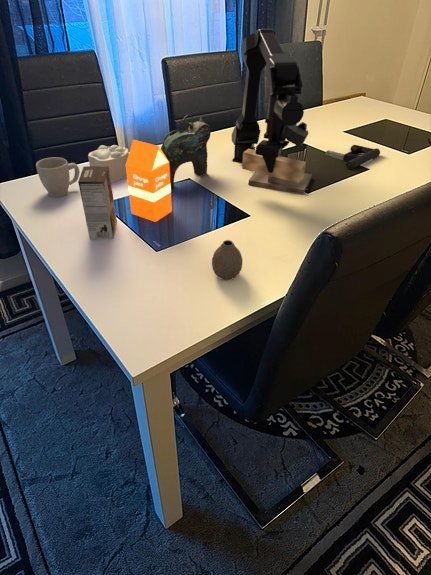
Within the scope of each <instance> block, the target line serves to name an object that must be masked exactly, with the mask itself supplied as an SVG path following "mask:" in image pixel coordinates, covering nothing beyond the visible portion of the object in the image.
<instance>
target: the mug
mask: <svg viewBox="0 0 431 575" xmlns="http://www.w3.org/2000/svg"><path fill="white" fill-rule="evenodd" d="M35 168H36V172H37V174H38V175H37V176H38V177H39V180H40V182H41V184H42V186H43V188H44V189H45V190H46V192H48V194H49V196H50V197H52V198H59V197H64V196H66V195H68V193H69V187H70V186H71V185H73V184H74V183H76V182H77V181H79V178H80V174H81V173H80V172H81V171H80V169H79V165H78V164H76V163H75V162H70V163H69V162H68V161H67V159H65V158H64V157H58V156H57V157H56V156H55V157H53V156H52V157H47V158H42V159H40V160H38V161H36V163H35ZM73 169H74V175H73V178H72V179H71V180H70V170H73Z"/></svg>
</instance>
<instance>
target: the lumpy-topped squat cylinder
mask: <svg viewBox="0 0 431 575" xmlns="http://www.w3.org/2000/svg"><path fill="white" fill-rule="evenodd" d="M129 153H130V150H129V149H128V148H127V147H124V146H119V145H116V144H113V145H111V146H107V145H103V144H102V145H99V147H97V149H96V150H93V151H91V152H89V153H88V155H87V157H88V163H89V164H88V165H89V166H100V167H109V173H110V180H111V183H112V182H116V181H118V180H119V181H120V180H121V179H125V178H127V172H126V163H127V159H128V156H129Z"/></svg>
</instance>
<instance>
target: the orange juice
mask: <svg viewBox="0 0 431 575" xmlns="http://www.w3.org/2000/svg"><path fill="white" fill-rule="evenodd" d="M131 142H132V143H131V146H130V149H129V156H128V159H127V163H126V172H127V177H126V179H127V188H128V195H129V203H130V211H131V212H130V213H131V214H132V215H135V216H137V217H140V218H142V219H146V220H148V221H151V222H155V223H156V222H158V221H160V220H161V219H163V218H164V217H166V216H167V215H169V214H170V213H172V210H173V209H172V206H173V205H172V187H171V183H170V168H169V161H168V160H167V158H166V157H165V155H164V153H163V152H162V150H161V146H160V145H156V144H152V143H148V142H144V141H140V140H136V139H132V141H131Z"/></svg>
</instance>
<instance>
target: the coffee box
mask: <svg viewBox="0 0 431 575" xmlns="http://www.w3.org/2000/svg"><path fill="white" fill-rule="evenodd" d="M80 172H81V173H80V174H79V177H78V180H77V181H78V187H79V188H78V189H79V194H80V199H81V202H82V207H83V212H84V218H85V222H86V227H87V232H88V238H89V240H113V239H115V234H116V229H117V228H116V227H117V223H118V219H117V213H116V212H117V211H116V207H115V200H114V193H113V187H112V182H111V180H110V173H109V167H100V166H90V165H89V166H88V165H87V166H83V167H82V170H81V171H80Z"/></svg>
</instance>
